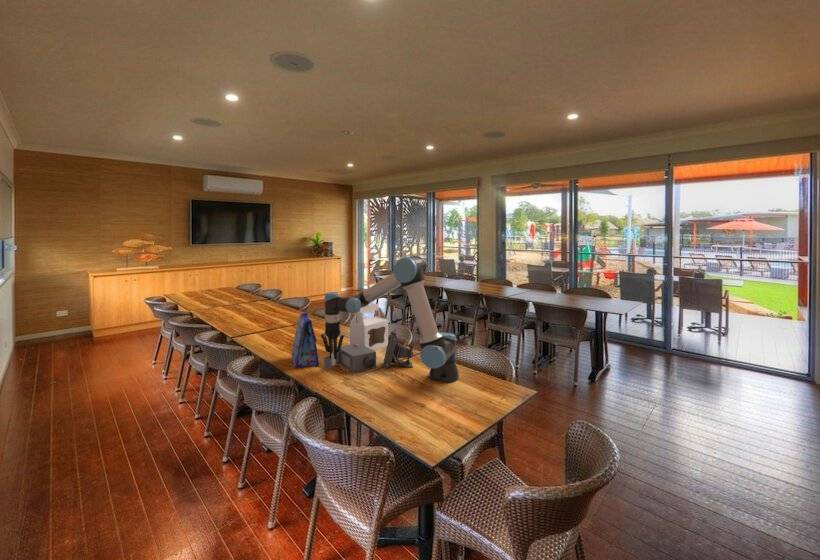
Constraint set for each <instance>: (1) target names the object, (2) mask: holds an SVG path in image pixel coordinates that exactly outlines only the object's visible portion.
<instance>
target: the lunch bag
mask: <svg viewBox="0 0 820 560" xmlns="http://www.w3.org/2000/svg"><path fill="white" fill-rule="evenodd" d="M296 322H297V323H296V328H295V333H294V339H293V344H292V350H291V359H292V362H293V365H294V368H295V369H299V368H303V367H307V366H309V367H311V366H313V367H318V366H320V361H319V359H320V358H319V352H318V349H317V342H318V341H317V338H316V334H315V330H314V327H313V322H312V319H311V318H310V317H309V314H308V312H307V311H305V312H304V311H303V312H302V313H300V314H299V316H298V319H297V321H296Z"/></svg>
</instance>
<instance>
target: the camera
mask: <svg viewBox="0 0 820 560" xmlns="http://www.w3.org/2000/svg"><path fill="white" fill-rule="evenodd" d="M408 346H409V347H407V346H405V345H404V344H402V343H400V342H399V341H398V333H397V330H396V329H393V330H392V331H391V332H390V334H388V345H387V346H386V351H385V354H384V358H383V367H384V368H385V369H389V368H390V367H391V365H392V364H394V365H397V366H398V365H399V366H403V367H407V368H411V369H412V368H413V367H414V366H413V361H410V359H412V357H413V355H414V347H415V346H414V344H411V343H409V344H408ZM405 358H406V360H403V359H405Z"/></svg>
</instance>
